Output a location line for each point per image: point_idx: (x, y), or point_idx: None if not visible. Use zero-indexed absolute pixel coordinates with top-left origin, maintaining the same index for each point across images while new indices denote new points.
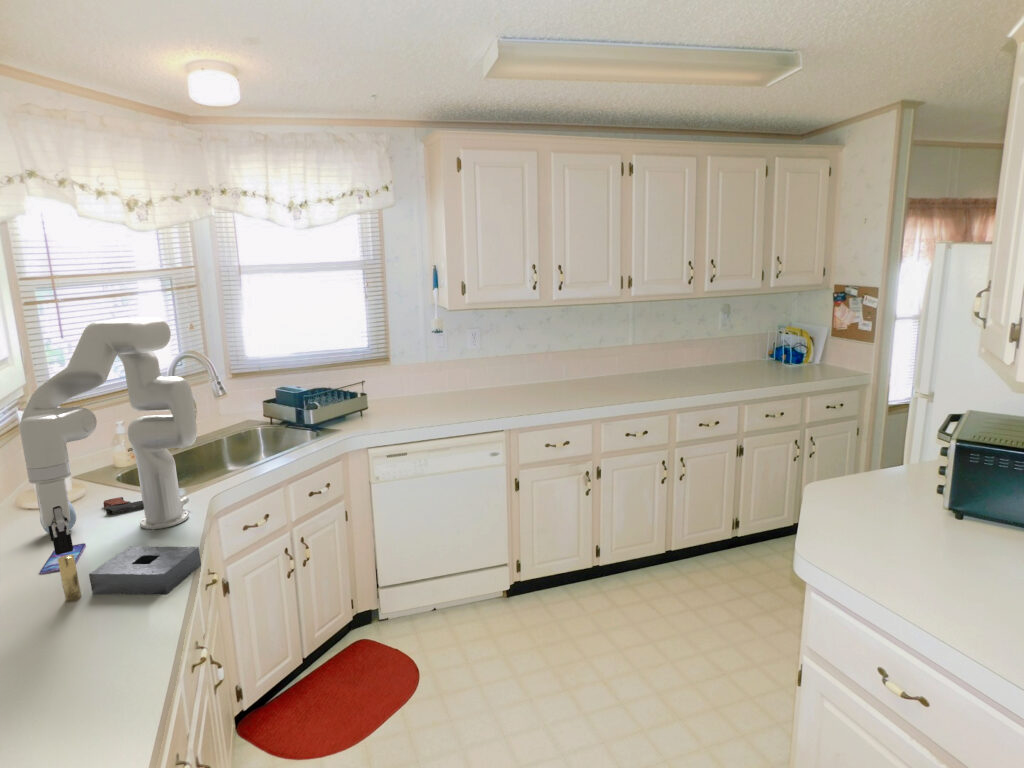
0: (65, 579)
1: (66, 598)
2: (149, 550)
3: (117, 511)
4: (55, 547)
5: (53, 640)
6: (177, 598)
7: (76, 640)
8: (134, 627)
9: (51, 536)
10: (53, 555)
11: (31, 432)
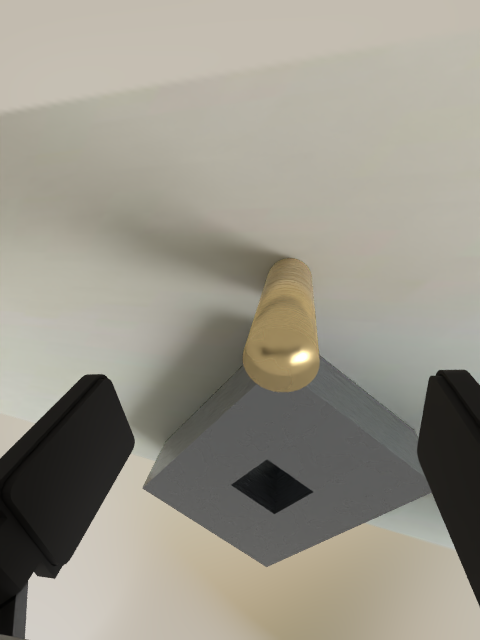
0: (261, 299)
1: (276, 265)
2: (339, 509)
3: None
4: (52, 415)
5: (50, 228)
6: (138, 449)
7: (33, 276)
8: (51, 375)
9: (452, 407)
10: None
11: None
